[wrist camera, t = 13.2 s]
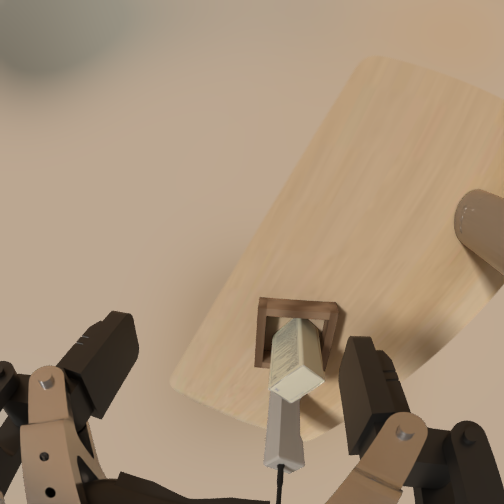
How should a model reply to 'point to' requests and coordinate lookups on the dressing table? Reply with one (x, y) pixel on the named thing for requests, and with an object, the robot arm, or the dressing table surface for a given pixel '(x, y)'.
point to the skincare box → (295, 360)
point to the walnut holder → (295, 310)
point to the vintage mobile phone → (283, 438)
